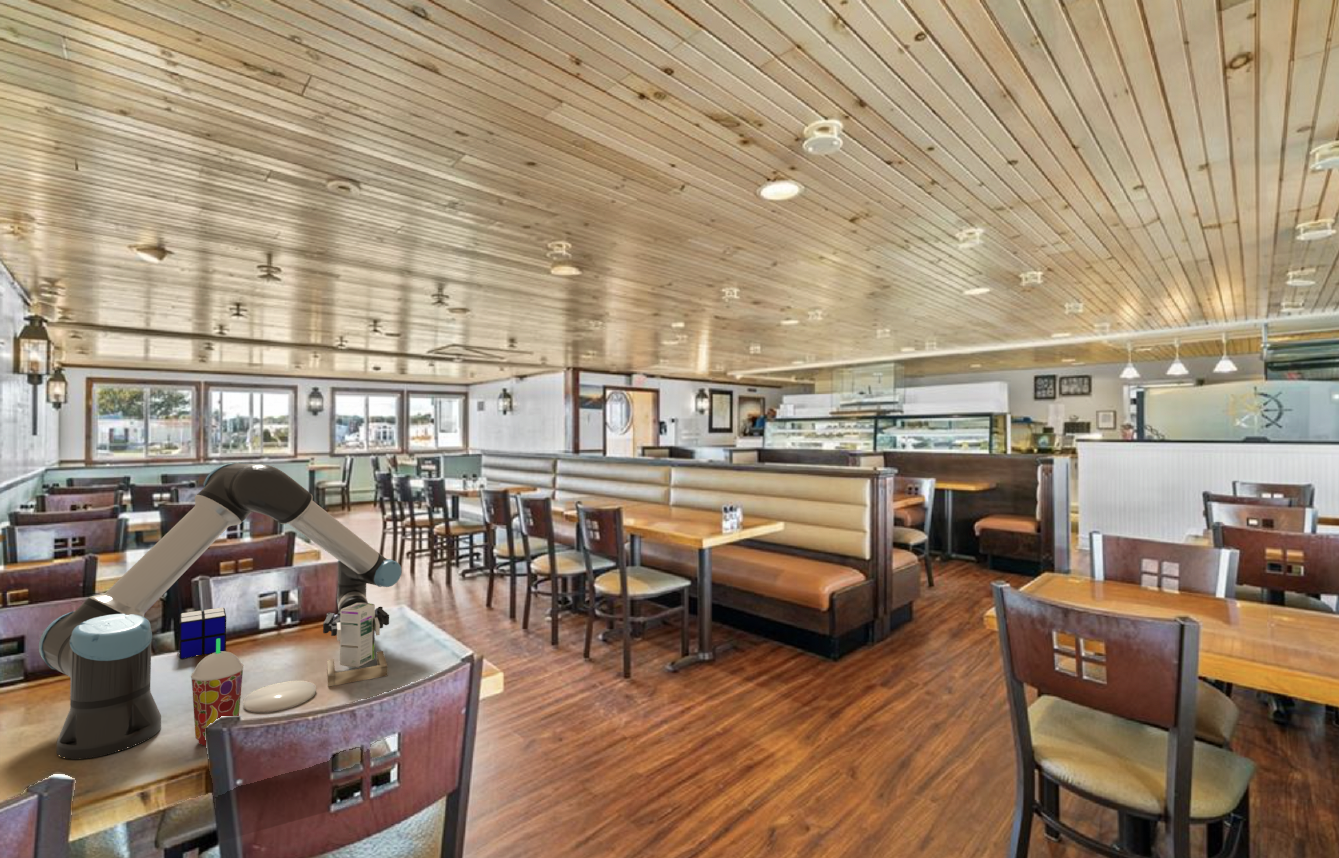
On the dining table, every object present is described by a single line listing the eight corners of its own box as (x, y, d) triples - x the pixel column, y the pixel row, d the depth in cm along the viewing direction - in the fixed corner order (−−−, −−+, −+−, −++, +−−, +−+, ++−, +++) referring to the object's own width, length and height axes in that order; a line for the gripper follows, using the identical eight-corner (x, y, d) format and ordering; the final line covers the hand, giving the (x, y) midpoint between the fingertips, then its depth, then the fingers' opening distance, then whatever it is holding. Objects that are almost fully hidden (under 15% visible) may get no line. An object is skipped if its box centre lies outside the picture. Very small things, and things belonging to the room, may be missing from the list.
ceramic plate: (239, 718, 127) (239, 713, 127) (246, 692, 139) (246, 688, 139) (315, 703, 134) (315, 699, 134) (315, 680, 146) (315, 676, 146)
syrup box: (359, 667, 148) (360, 609, 149) (338, 665, 150) (340, 608, 150) (374, 659, 154) (376, 603, 154) (354, 657, 155) (356, 601, 155)
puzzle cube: (179, 660, 158) (179, 622, 158) (179, 649, 166) (179, 613, 166) (226, 651, 164) (226, 615, 164) (224, 641, 172) (224, 606, 172)
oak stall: (327, 686, 143) (328, 676, 143) (327, 669, 153) (327, 660, 153) (387, 675, 150) (387, 665, 150) (382, 660, 159) (383, 651, 159)
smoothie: (201, 731, 121) (202, 633, 121) (249, 725, 124) (250, 630, 124) (181, 753, 113) (183, 648, 113) (233, 746, 116) (234, 644, 116)
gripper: (393, 616, 173) (403, 641, 153) (310, 627, 162) (309, 655, 142) (394, 590, 173) (404, 611, 153) (311, 600, 162) (310, 623, 142)
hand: (358, 632), depth 148 cm, fingers closed on syrup box, 8 cm apart
